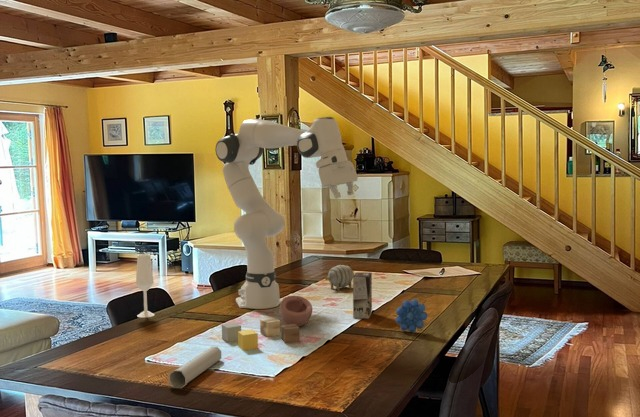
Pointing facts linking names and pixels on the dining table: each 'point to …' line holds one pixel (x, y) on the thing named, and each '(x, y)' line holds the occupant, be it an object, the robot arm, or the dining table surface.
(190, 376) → the tube
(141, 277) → the champagne flute
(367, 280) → the coffee box
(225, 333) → the grey cube
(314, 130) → the robot arm
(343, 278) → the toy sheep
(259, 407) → the dining table surface
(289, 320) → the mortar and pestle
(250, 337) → the mustard cube
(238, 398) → the dining table surface
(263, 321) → the beech cube
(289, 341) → the walnut cube
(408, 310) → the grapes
